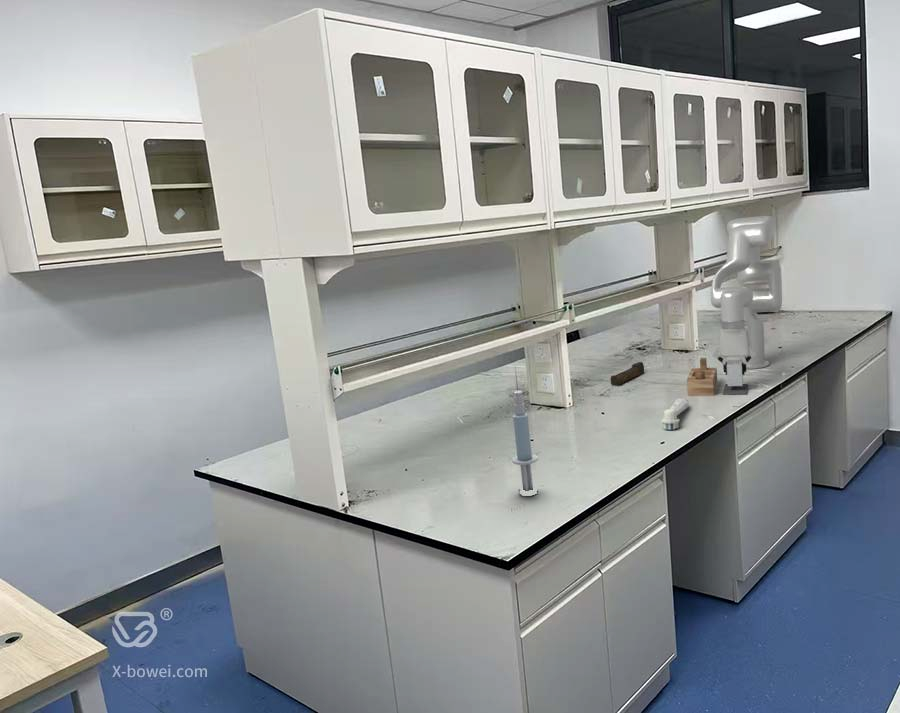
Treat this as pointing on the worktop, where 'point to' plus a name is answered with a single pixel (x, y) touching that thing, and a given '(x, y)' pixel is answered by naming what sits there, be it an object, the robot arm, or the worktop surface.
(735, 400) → the worktop surface
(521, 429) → the syringe
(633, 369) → the hand tool
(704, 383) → the body
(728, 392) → the rubber mat
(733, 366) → the silver block
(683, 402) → the electric toothbrush
